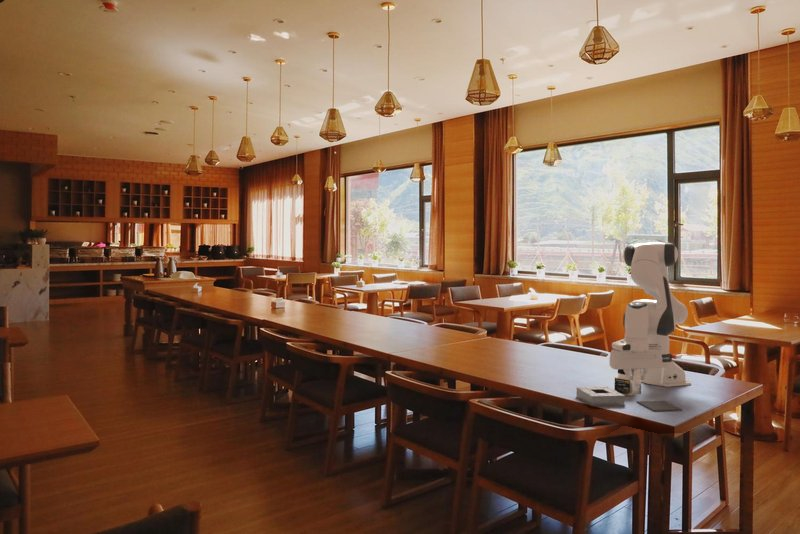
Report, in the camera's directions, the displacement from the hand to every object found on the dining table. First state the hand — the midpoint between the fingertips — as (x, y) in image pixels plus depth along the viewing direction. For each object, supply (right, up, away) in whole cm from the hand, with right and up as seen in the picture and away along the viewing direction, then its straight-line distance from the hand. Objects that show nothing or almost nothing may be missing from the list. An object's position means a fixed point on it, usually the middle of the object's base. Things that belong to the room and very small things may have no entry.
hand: (635, 379), depth 215 cm
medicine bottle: (+7, -12, +28) cm, 32 cm away
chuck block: (-8, -12, +15) cm, 21 cm away
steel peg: (0, -5, 0) cm, 5 cm away
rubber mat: (+13, -12, +8) cm, 19 cm away
